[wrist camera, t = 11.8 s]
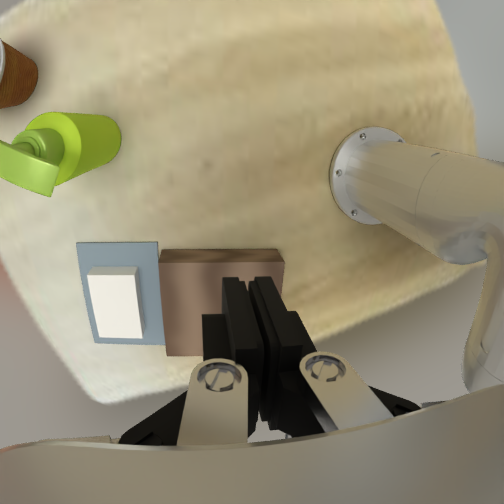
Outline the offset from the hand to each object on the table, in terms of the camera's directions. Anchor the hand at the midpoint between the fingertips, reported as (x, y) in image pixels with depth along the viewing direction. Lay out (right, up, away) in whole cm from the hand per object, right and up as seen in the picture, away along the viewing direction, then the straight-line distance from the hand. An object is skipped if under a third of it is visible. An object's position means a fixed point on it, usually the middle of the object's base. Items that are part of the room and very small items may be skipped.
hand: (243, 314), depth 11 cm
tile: (-16, -5, +26) cm, 31 cm away
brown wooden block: (-4, -4, +30) cm, 31 cm away
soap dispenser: (-17, +15, +21) cm, 31 cm away
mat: (-16, -4, +28) cm, 33 cm away
